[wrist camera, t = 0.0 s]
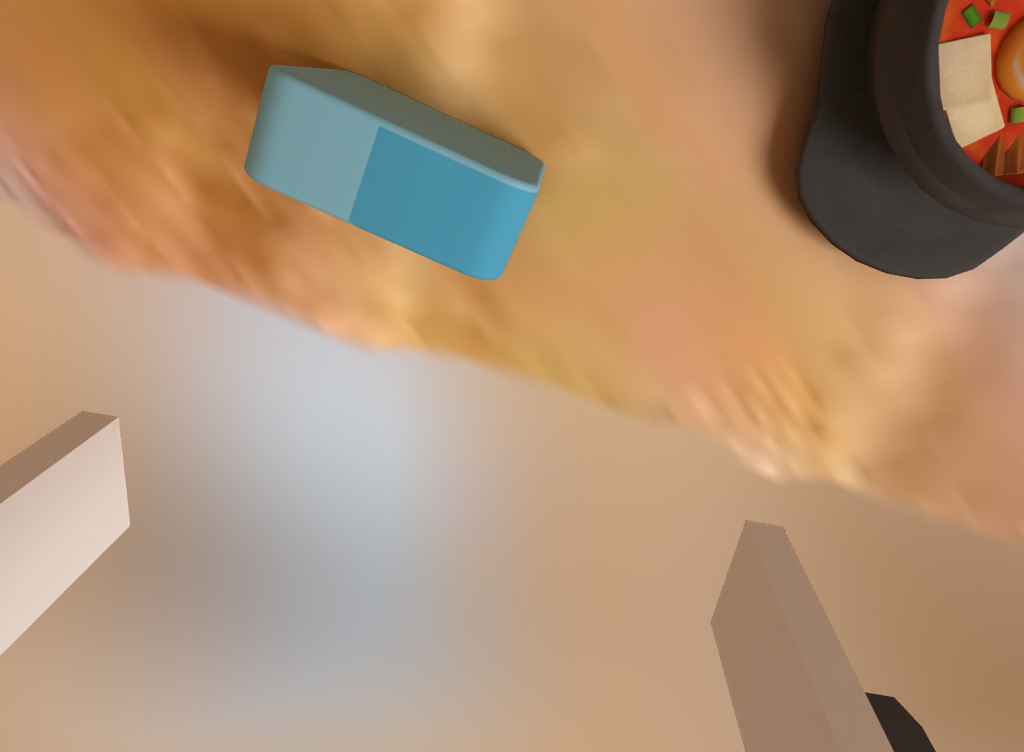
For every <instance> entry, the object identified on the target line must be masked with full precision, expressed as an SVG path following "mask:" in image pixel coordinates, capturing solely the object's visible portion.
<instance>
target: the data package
mask: <svg viewBox="0 0 1024 752" xmlns="http://www.w3.org/2000/svg"><path fill="white" fill-rule="evenodd" d="M544 169H545V165H544V163H543V162H542V161H541V160H540V159H538V158H537V157H535V156H533V155H532V154H530V153H528V152H526V151H524V150H522V149H519V148H517V147H515V146H513V145H511V144H509V143H507V142H504V141H502V140H500V139H498V138H496V137H494V136H491V135H489V134H487V133H485V132H483V131H481V130H478V129H476V128H474V127H472V126H470V125H468V124H466V123H463V122H461V121H459V120H457V119H455V118H453V117H450V116H448V115H446V114H444V113H442V112H440V111H438V110H435V109H433V108H431V107H429V106H427V105H425V104H422V103H420V102H418V101H416V100H414V99H412V98H409V97H407V96H405V95H403V94H401V93H399V92H397V91H394V90H392V89H390V88H388V87H386V86H384V85H381V84H379V83H377V82H375V81H373V80H370V79H368V78H366V77H363V76H361V75H358V74H355V73H353V72H350V71H346V70H337V69H324V68H311V67H298V66H286V65H273V66H271V67H270V68H269V70H268V73H267V77H266V81H265V85H264V89H263V93H262V97H261V101H260V105H259V109H258V113H257V117H256V121H255V125H254V129H253V133H252V137H251V141H250V145H249V149H248V153H247V157H246V161H245V170H246V172H247V174H248V175H249V176H250V177H251V178H252V179H254V180H255V181H257V182H258V183H260V184H262V185H264V186H266V187H268V188H270V189H272V190H274V191H277V192H279V193H281V194H284V195H286V196H288V197H290V198H293V199H295V200H297V201H299V202H302V203H304V204H306V205H309V206H311V207H313V208H315V209H318V210H320V211H322V212H324V213H327V214H329V215H331V216H333V217H336V218H338V219H340V220H343V221H345V222H347V223H349V224H352V225H354V226H356V227H358V228H361V229H363V230H365V231H368V232H370V233H372V234H374V235H377V236H379V237H381V238H383V239H386V240H388V241H390V242H393V243H395V244H397V245H399V246H402V247H404V248H406V249H408V250H411V251H413V252H415V253H417V254H420V255H422V256H424V257H427V258H429V259H431V260H433V261H436V262H438V263H440V264H442V265H445V266H447V267H449V268H452V269H454V270H456V271H458V272H461V273H463V274H466V275H468V276H471V277H474V278H478V279H483V280H495V279H498V278H499V277H501V275H502V273H503V271H504V269H505V267H506V264H507V262H508V260H509V257H510V255H511V253H512V251H513V248H514V246H515V244H516V241H517V239H518V237H519V235H520V232H521V230H522V228H523V226H524V223H525V221H526V219H527V216H528V214H529V212H530V210H531V207H532V205H533V203H534V200H535V198H536V196H537V194H538V191H539V188H540V184H541V180H542V177H543V173H544Z"/></svg>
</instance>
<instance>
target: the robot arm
mask: <svg viewBox="0 0 1024 752" xmlns="http://www.w3.org/2000/svg"><path fill="white" fill-rule="evenodd" d="M129 526H130V520H129V510H128V501H127V491H126V482H125V474H124V464H123V455H122V445H121V437H120V427H119V417H115V416H109V415H102V414H96V413H90V412H85V411H82V412H80V413H79V414H77V415H76V416H74V417H73V418H71V419H70V420H68V421H67V422H65V423H64V424H62V425H61V426H59V427H58V428H57V429H55V430H53V431H52V432H50V433H49V434H47V435H46V436H44V437H43V438H41V439H40V440H38V441H37V442H35V443H34V444H32V445H31V446H29V447H28V448H26V449H25V450H23V451H22V452H21V453H19V454H17V455H16V456H14V457H13V458H11V459H10V460H8V461H7V462H5V463H4V464H2V465H1V466H0V655H1V654H2V653H3V652H4V651H5V650H6V649H7V648H8V647H9V646H10V645H11V644H12V643H13V642H14V641H15V640H16V639H17V638H18V637H19V636H20V635H21V634H22V633H23V632H24V631H25V630H26V629H27V628H28V627H29V626H30V625H31V624H32V623H33V622H34V621H35V620H36V619H37V618H38V617H39V616H40V615H41V614H42V613H43V612H44V611H45V610H46V609H47V608H48V607H49V606H50V605H51V604H52V603H53V602H54V601H55V600H56V599H57V598H58V597H59V596H60V595H61V594H62V593H63V592H64V591H65V590H66V589H67V588H68V587H69V586H70V585H71V584H72V583H73V582H74V581H75V580H76V579H77V578H78V577H79V576H80V575H81V574H82V573H83V572H84V571H85V570H86V569H87V568H88V567H89V566H90V565H91V564H92V563H93V562H94V561H95V560H96V559H97V558H98V557H99V556H100V555H101V554H102V553H103V552H104V551H105V550H106V549H107V548H108V547H109V546H110V545H111V544H112V543H113V542H114V541H115V540H116V539H117V538H118V537H119V536H120V535H121V534H122V533H123V532H124V531H125V530H126V529H127V528H128V527H129ZM711 625H712V629H713V632H714V636H715V640H716V644H717V648H718V651H719V655H720V658H721V662H722V666H723V670H724V673H725V677H726V681H727V685H728V688H729V692H730V695H731V700H732V703H733V707H734V710H735V714H736V718H737V721H738V726H739V729H740V733H741V737H742V740H743V744H744V747H745V752H936V751H935V749H934V748H933V746H932V744H931V742H930V740H929V739H928V737H927V735H926V733H925V731H924V730H923V728H922V726H921V725H920V724H919V723H918V722H917V721H916V720H915V719H914V718H913V717H912V716H911V715H910V714H909V713H908V712H907V710H905V708H904V707H903V706H902V705H901V704H900V703H899V702H898V701H897V700H896V699H895V698H894V697H889V696H883V695H877V694H871V693H866V692H864V691H863V688H862V686H861V684H860V682H859V680H858V678H857V676H856V674H855V672H854V670H853V668H852V666H851V664H850V662H849V660H848V658H847V656H846V654H845V651H844V649H843V648H842V646H841V643H840V641H839V640H838V637H837V635H836V633H835V631H834V629H833V627H832V625H831V623H830V621H829V619H828V617H827V615H826V613H825V611H824V609H823V607H822V605H821V603H820V601H819V599H818V597H817V595H816V593H815V591H814V589H813V586H812V585H811V582H810V580H809V579H808V576H807V574H806V572H805V571H804V568H803V566H802V564H801V562H800V560H799V558H798V556H797V554H796V552H795V550H794V548H793V546H792V544H791V542H790V540H789V538H788V536H787V534H786V532H785V530H784V528H783V526H777V525H772V524H765V523H759V522H753V521H747V520H746V521H745V524H744V527H743V530H742V533H741V536H740V539H739V542H738V545H737V547H736V550H735V553H734V556H733V559H732V562H731V565H730V567H729V570H728V573H727V576H726V579H725V582H724V585H723V588H722V591H721V593H720V596H719V599H718V602H717V606H716V608H715V611H714V614H713V617H712V620H711Z"/></svg>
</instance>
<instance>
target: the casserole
mask: <svg viewBox="0 0 1024 752" xmlns="http://www.w3.org/2000/svg"><path fill="white" fill-rule="evenodd" d="M795 173H796V181H797V189H798V198H799V200H800V202H801V204H802V206H803V208H804V210H805V211H806V213H807V215H808V217H809V219H810V221H811V222H812V223H813V225H814V226H815V227H816V228H817V229H818V230H819V231H820V232H821V233H822V234H823V235H824V236H825V237H826V239H827V240H828V241H829V242H830V243H831V244H832V245H834V246H835V247H837V248H838V249H840V250H841V251H842V252H844V253H845V254H847V255H848V256H850V257H851V258H853V259H854V260H855V261H857V262H859V263H862V264H864V265H867V266H869V267H872V268H874V269H877V270H879V271H882V272H884V273H888V274H893V275H898V276H904V277H909V278H915V279H936V278H948V277H951V276H954V275H957V274H960V273H963V272H966V271H969V270H973V269H975V268H976V267H978V266H979V265H980V264H982V263H983V262H985V261H986V260H987V259H989V258H990V257H992V256H993V255H994V254H996V253H997V252H999V251H1000V250H1001V249H1003V248H1004V247H1005V246H1007V245H1008V244H1009V243H1011V242H1012V241H1013V240H1015V239H1016V238H1017V237H1018V236H1020V235H1021V234H1022V233H1024V0H832V3H831V6H830V9H829V13H828V16H827V19H826V24H825V32H824V40H823V48H822V56H821V64H820V73H819V81H818V89H817V98H816V103H815V106H814V109H813V112H812V116H811V119H810V122H809V125H808V128H807V131H806V134H805V137H804V141H803V145H802V149H801V152H800V156H799V160H798V164H797V167H796V171H795Z"/></svg>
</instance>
